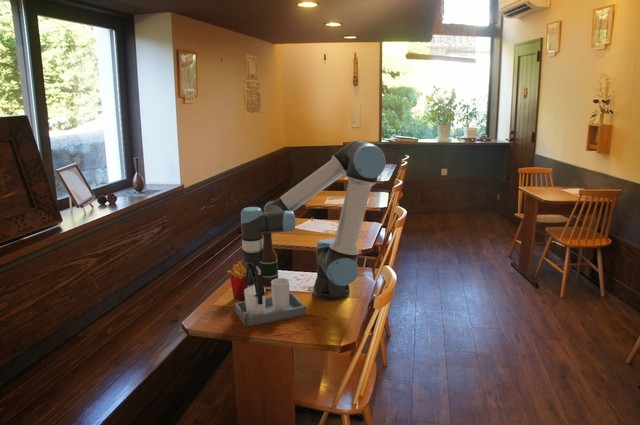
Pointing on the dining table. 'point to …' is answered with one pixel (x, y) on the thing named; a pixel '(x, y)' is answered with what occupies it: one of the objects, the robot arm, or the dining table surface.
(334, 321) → the dining table surface
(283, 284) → the mug
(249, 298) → the white cup
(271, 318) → the tray
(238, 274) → the french fries
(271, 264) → the beer bottle
